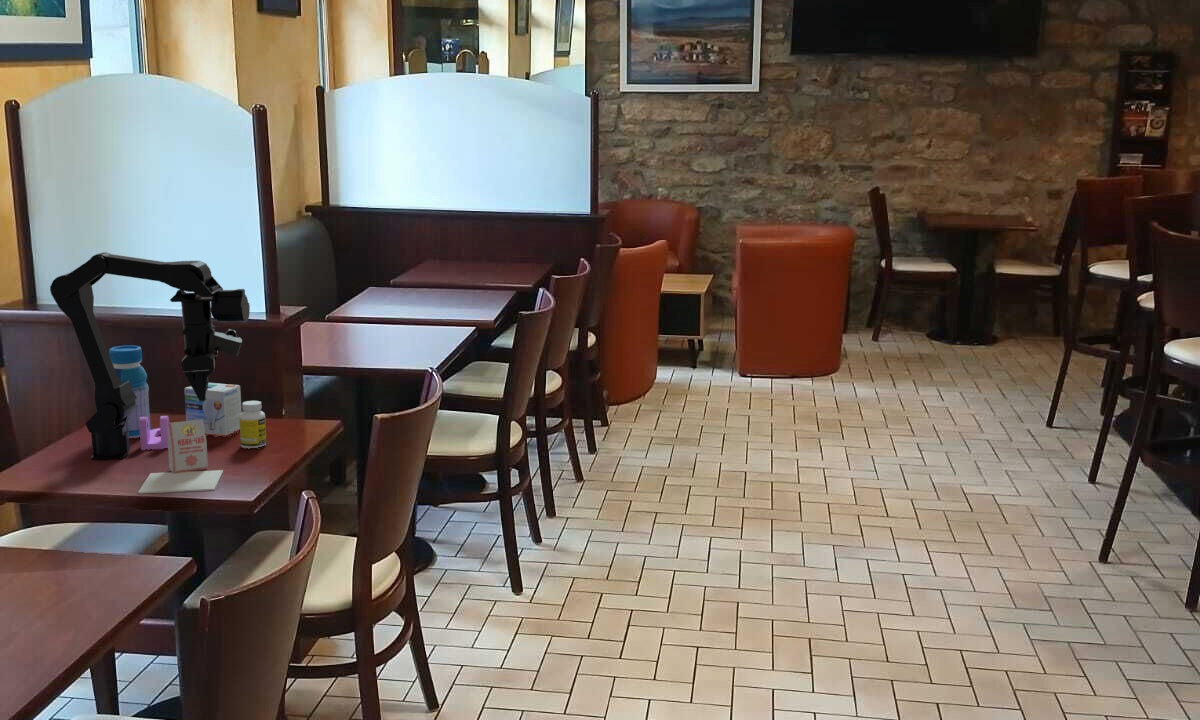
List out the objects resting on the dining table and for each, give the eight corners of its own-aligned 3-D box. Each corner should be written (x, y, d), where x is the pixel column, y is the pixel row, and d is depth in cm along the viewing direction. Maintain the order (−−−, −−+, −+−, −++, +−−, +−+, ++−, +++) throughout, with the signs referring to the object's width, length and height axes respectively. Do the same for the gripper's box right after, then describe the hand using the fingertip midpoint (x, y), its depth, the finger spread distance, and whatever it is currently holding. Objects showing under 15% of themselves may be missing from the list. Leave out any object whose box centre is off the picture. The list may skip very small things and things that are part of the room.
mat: (138, 493, 219) (137, 492, 219) (150, 474, 231) (150, 473, 231) (214, 490, 222) (214, 488, 221) (223, 471, 233) (223, 470, 233)
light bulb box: (185, 433, 260) (182, 387, 258) (204, 426, 267) (201, 381, 264) (226, 438, 257) (223, 391, 255) (244, 430, 264) (241, 384, 261)
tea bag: (169, 469, 234) (166, 421, 232) (203, 465, 237) (201, 417, 236) (173, 473, 230) (170, 424, 229) (207, 468, 234) (205, 420, 232)
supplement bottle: (262, 449, 248) (260, 405, 246) (237, 449, 248) (235, 405, 246) (269, 442, 254) (267, 399, 252) (245, 442, 254) (242, 399, 252)
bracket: (168, 449, 249) (166, 418, 247) (141, 450, 247) (138, 419, 246) (176, 433, 261) (173, 403, 260) (150, 434, 260) (147, 404, 258)
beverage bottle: (143, 440, 255) (136, 352, 250) (105, 439, 255) (97, 351, 250) (157, 429, 263) (151, 344, 259) (120, 429, 263) (114, 344, 259)
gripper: (236, 328, 231) (242, 403, 234) (239, 313, 249) (244, 383, 252) (178, 331, 228) (184, 407, 231) (185, 315, 246) (191, 386, 249)
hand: (203, 395), depth 241 cm, fingers open, 9 cm apart
